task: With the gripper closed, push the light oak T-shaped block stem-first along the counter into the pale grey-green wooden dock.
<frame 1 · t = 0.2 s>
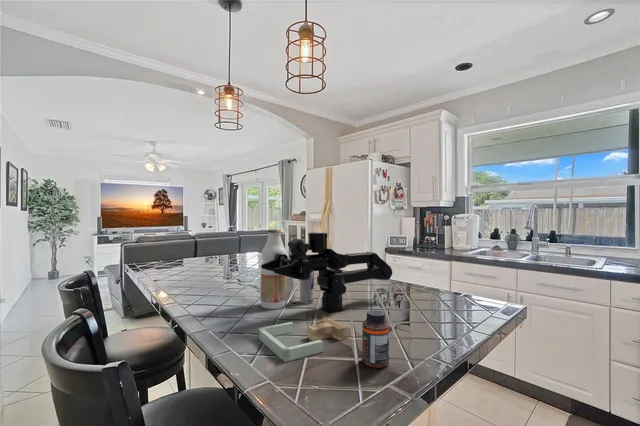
hand: (267, 268, 95), 17 cm above the kitchen island, tool horizontal, fingers open, 9 cm apart
t block: (333, 334, 86), on the kitchen island
supplement bottle: (375, 363, 69), on the kitchen island
dock: (292, 343, 79), on the kitchen island
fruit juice: (273, 306, 113), on the kitchen island
energy drink: (306, 302, 118), on the kitchen island
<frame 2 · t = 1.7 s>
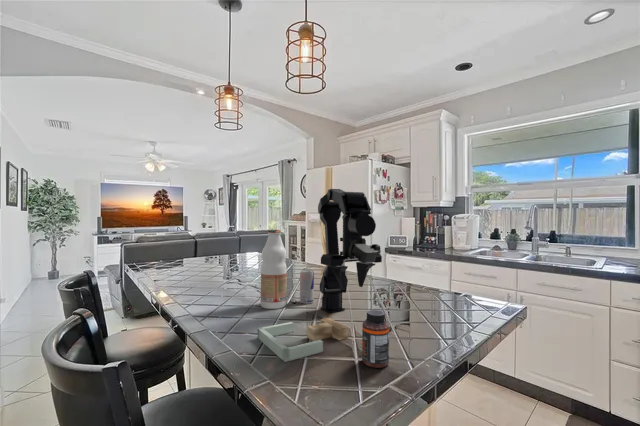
hand: (351, 288, 90), 12 cm above the kitchen island, tool pointing down, fingers open, 6 cm apart
nothing on the kitchen island moved.
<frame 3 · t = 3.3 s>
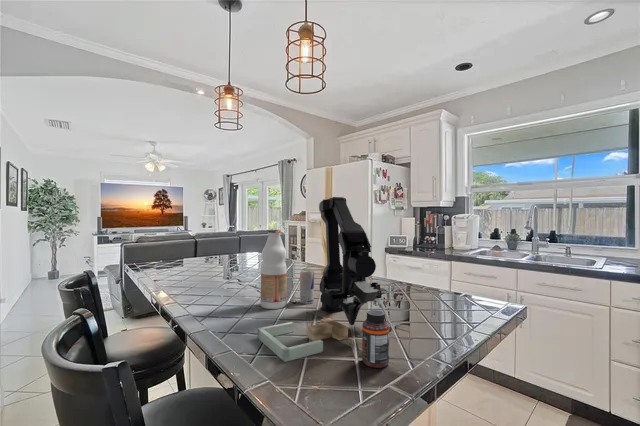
hand: (351, 324, 90), 1 cm above the kitchen island, tool pointing down, fingers closed
nothing on the kitchen island moved.
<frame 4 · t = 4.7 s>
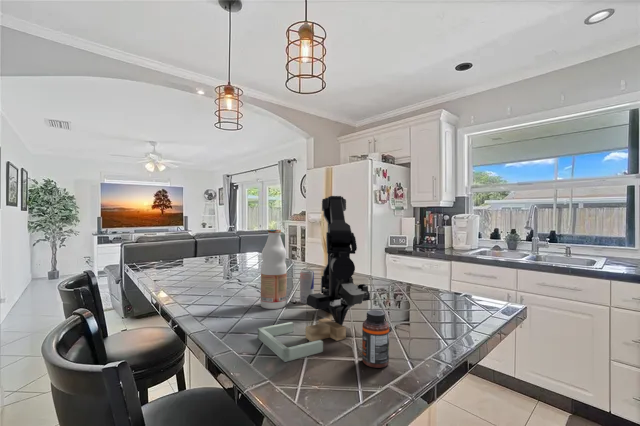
hand: (339, 327, 87), 1 cm above the kitchen island, tool pointing down, fingers closed
t block: (331, 334, 86), on the kitchen island, touching gripper
everything else where it was.
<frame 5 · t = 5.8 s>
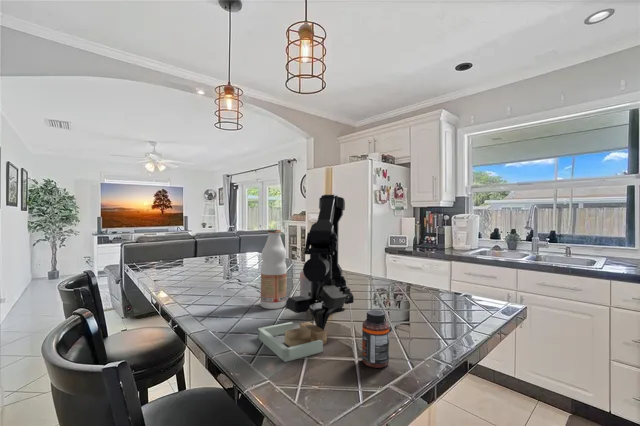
hand: (320, 332, 84), 1 cm above the kitchen island, tool pointing down, fingers closed
t block: (312, 338, 82), on the kitchen island, touching gripper
everything else where it was.
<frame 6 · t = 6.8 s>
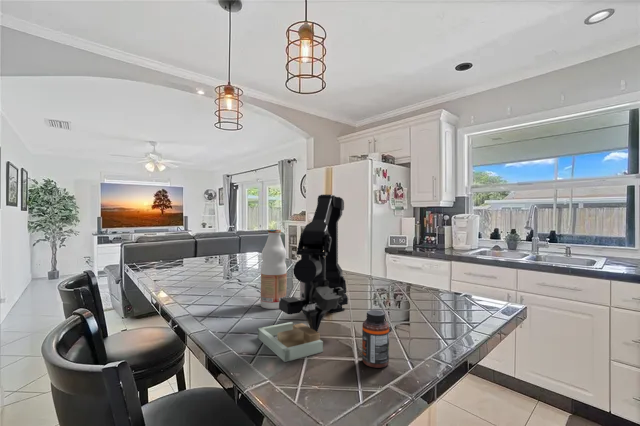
hand: (314, 333, 82), 1 cm above the kitchen island, tool pointing down, fingers closed
t block: (305, 340, 81), on the kitchen island, touching gripper
everything else where it was.
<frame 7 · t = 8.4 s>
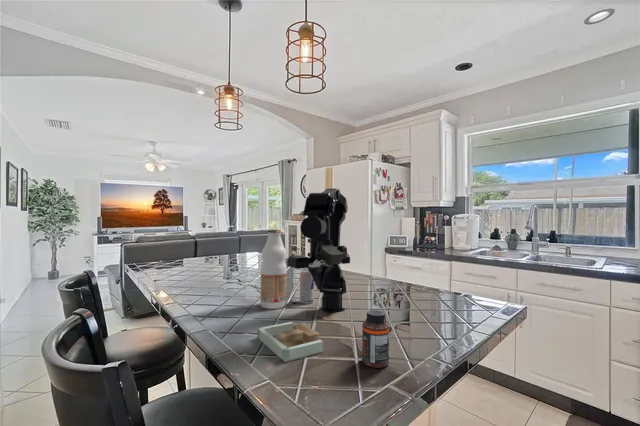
hand: (319, 289, 89), 12 cm above the kitchen island, tool pointing down, fingers closed
t block: (305, 340, 81), on the kitchen island
everything else where it was.
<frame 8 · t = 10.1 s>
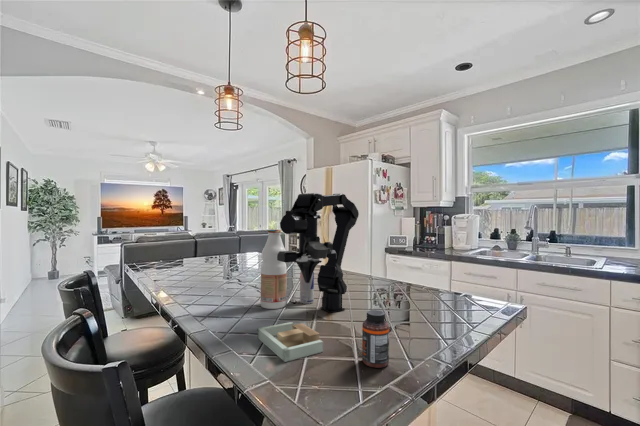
hand: (307, 282, 97), 12 cm above the kitchen island, tool pointing down, fingers closed
nothing on the kitchen island moved.
at the end: t block 0.1 cm from the target spot, on the kitchen island; t block moved 9.1 cm from its start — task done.
